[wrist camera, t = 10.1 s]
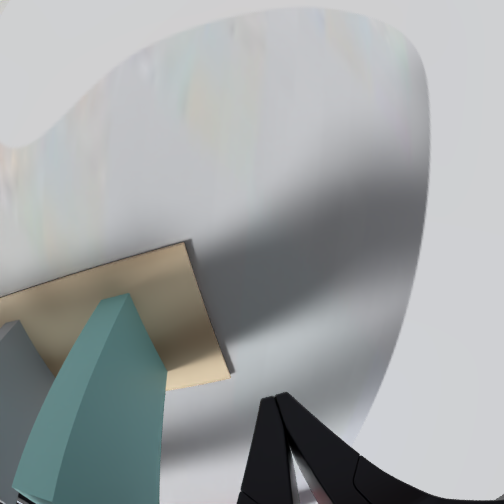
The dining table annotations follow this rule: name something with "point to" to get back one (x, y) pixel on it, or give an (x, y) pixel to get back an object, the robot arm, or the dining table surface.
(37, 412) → the domino
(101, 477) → the domino
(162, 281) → the light wooden board
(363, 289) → the dining table surface
